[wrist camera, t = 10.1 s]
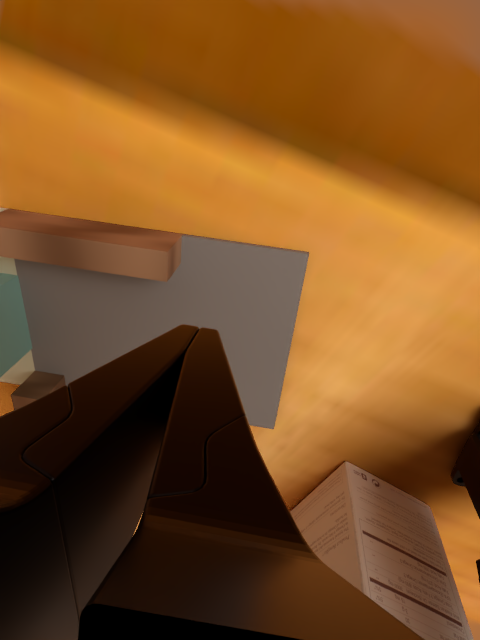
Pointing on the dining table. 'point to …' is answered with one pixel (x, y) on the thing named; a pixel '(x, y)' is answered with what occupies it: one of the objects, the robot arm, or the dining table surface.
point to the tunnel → (83, 261)
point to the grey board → (168, 314)
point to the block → (12, 323)
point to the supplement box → (384, 550)
